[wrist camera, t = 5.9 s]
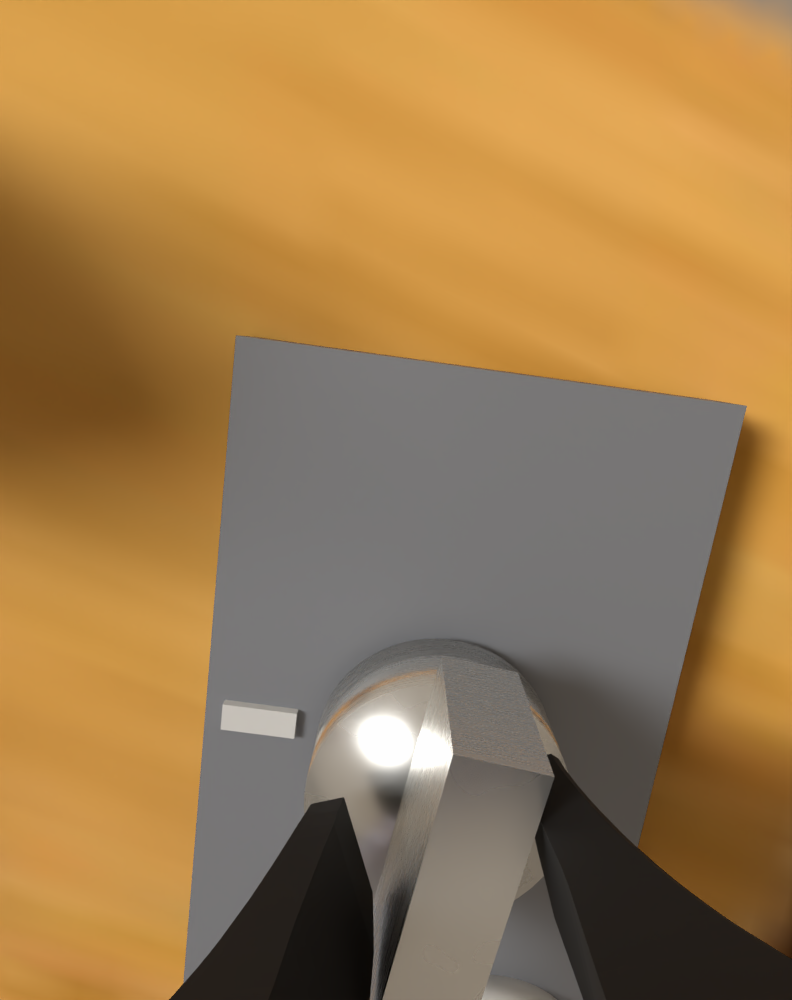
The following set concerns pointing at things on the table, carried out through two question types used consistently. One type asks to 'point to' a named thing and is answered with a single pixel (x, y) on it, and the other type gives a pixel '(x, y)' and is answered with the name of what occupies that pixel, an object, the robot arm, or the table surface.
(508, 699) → the knob
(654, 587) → the base
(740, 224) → the table surface
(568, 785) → the robot arm
